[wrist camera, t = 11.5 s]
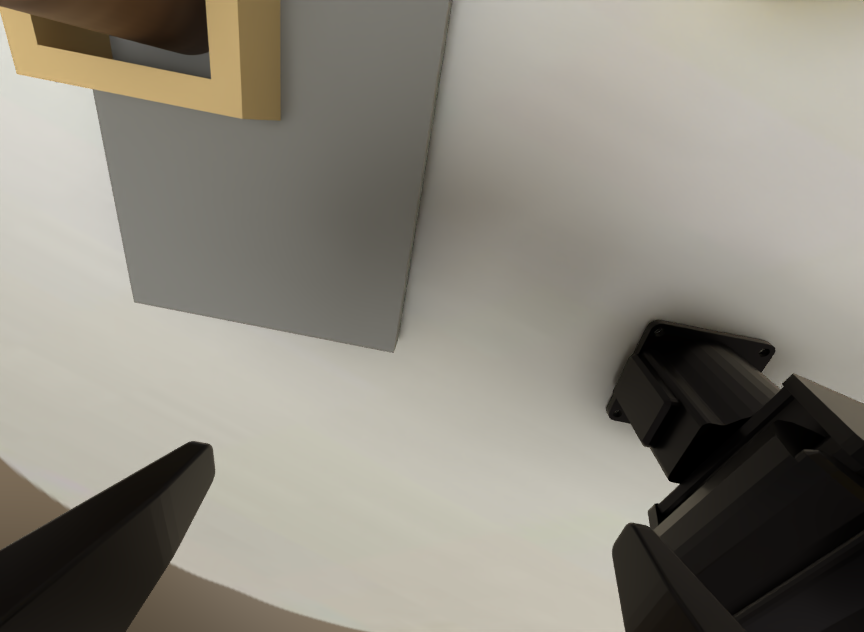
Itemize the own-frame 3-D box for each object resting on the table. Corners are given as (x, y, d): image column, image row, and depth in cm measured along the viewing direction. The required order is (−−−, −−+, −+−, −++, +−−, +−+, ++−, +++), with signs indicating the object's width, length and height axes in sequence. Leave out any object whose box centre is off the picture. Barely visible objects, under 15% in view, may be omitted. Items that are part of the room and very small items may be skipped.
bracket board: (479, -171, 13) (486, -311, 9) (398, 338, 22) (382, 387, 18) (64, -258, 13) (-126, -440, 9) (154, 291, 22) (83, 328, 17)
